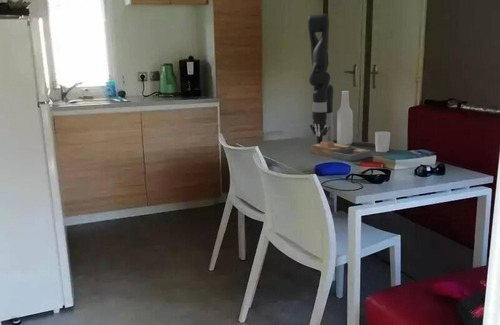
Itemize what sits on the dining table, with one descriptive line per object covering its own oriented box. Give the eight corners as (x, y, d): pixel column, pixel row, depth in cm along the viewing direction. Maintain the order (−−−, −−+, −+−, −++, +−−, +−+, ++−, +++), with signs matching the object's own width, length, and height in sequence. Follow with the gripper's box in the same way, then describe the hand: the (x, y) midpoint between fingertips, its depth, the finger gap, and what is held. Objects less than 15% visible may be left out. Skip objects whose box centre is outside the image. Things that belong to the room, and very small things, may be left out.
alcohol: (333, 143, 298) (334, 91, 292) (346, 141, 302) (347, 90, 295) (342, 145, 291) (343, 92, 284) (355, 144, 294) (356, 91, 287)
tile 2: (366, 150, 262) (366, 155, 263) (358, 149, 266) (358, 153, 266) (360, 151, 259) (360, 156, 259) (352, 150, 263) (352, 155, 263)
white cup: (372, 152, 272) (373, 133, 270) (376, 149, 279) (377, 131, 276) (387, 153, 268) (388, 134, 266) (391, 150, 275) (391, 131, 273)
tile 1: (327, 145, 273) (327, 140, 273) (334, 146, 270) (334, 141, 269) (320, 146, 270) (320, 141, 270) (327, 147, 267) (327, 143, 266)
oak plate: (329, 148, 283) (329, 141, 282) (351, 153, 271) (351, 145, 270) (310, 152, 275) (310, 145, 274) (333, 157, 262) (333, 149, 261)
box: (352, 152, 271) (353, 147, 271) (371, 156, 262) (371, 150, 261) (331, 157, 262) (331, 152, 261) (350, 161, 253) (350, 155, 252)
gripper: (333, 111, 267) (333, 143, 271) (315, 108, 277) (315, 140, 281) (323, 112, 263) (323, 145, 266) (305, 110, 273) (305, 142, 277)
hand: (319, 143), depth 274 cm, fingers closed
